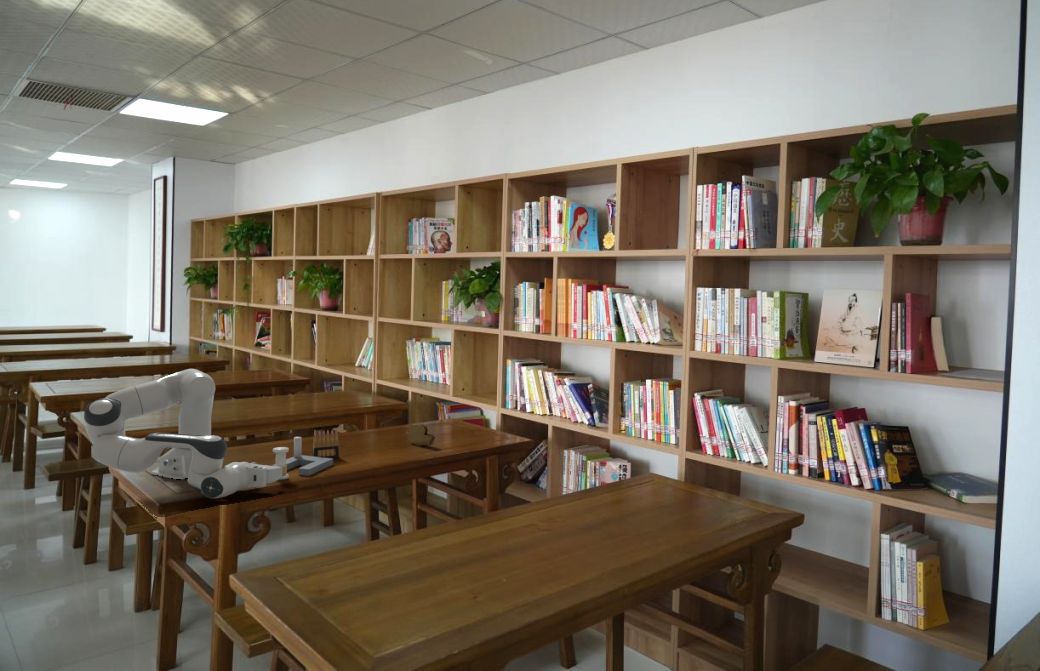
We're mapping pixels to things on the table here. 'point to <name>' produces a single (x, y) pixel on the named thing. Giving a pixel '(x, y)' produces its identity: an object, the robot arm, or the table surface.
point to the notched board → (306, 460)
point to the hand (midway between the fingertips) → (266, 466)
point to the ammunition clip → (326, 445)
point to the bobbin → (281, 460)
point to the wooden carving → (420, 435)
